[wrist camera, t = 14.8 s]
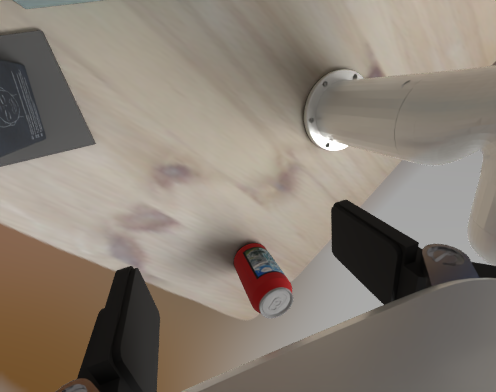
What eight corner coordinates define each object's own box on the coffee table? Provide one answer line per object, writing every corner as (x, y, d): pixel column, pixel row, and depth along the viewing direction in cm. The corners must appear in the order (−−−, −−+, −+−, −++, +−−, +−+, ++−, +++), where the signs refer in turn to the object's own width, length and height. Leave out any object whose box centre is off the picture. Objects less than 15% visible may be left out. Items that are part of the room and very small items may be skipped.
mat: (42, 31, 25) (40, 30, 25) (95, 143, 30) (94, 144, 30) (-101, 50, 22) (-107, 49, 22) (-16, 169, 28) (-19, 171, 27)
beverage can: (272, 247, 46) (305, 291, 36) (253, 274, 47) (280, 325, 37) (245, 235, 43) (272, 280, 33) (225, 265, 44) (246, 317, 34)
